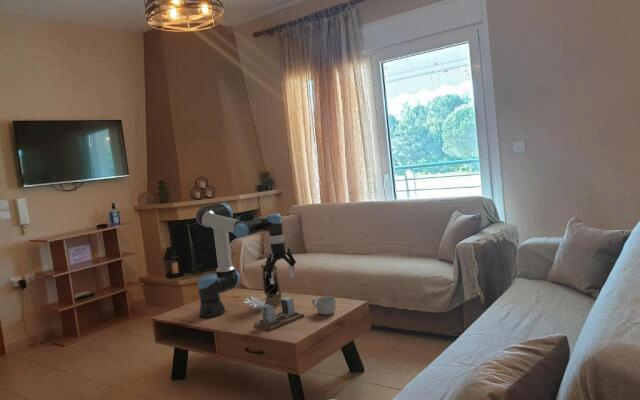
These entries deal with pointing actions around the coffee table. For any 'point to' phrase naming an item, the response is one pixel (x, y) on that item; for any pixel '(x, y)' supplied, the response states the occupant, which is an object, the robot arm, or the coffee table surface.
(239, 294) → the coffee table surface
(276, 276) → the lantern
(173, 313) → the coffee table surface
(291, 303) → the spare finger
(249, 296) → the coffee table surface
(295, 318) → the finger rail
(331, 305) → the teacup
